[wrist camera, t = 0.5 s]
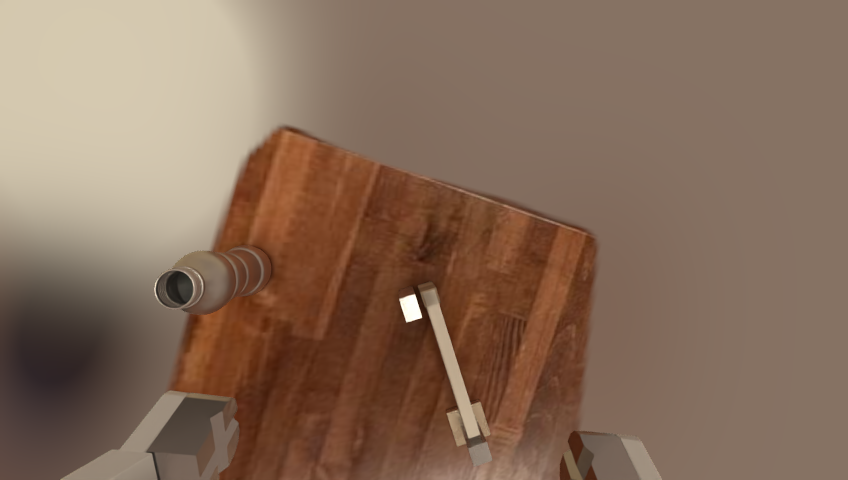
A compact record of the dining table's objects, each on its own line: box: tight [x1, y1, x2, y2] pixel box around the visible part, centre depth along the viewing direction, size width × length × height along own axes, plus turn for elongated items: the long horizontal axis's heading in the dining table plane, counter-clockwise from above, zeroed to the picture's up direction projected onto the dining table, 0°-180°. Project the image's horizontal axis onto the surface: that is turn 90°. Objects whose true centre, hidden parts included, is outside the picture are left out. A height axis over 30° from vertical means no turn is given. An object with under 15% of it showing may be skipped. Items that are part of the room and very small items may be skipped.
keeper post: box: [399, 286, 422, 322], centre depth 55 cm, size 3×2×8 cm, turn 17°
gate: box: [417, 281, 480, 438], centre depth 54 cm, size 19×2×6 cm, turn 17°
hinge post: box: [446, 399, 492, 467], centre depth 55 cm, size 5×5×9 cm
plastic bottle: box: [154, 245, 271, 315], centre depth 47 cm, size 6×7×20 cm
